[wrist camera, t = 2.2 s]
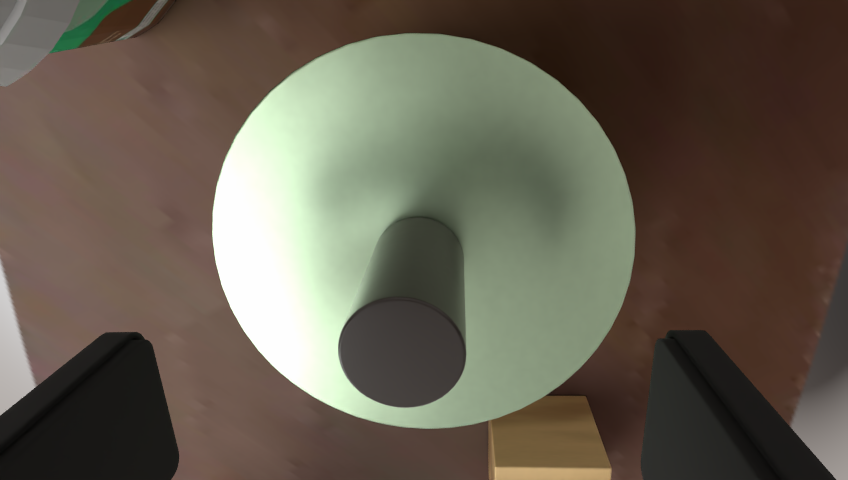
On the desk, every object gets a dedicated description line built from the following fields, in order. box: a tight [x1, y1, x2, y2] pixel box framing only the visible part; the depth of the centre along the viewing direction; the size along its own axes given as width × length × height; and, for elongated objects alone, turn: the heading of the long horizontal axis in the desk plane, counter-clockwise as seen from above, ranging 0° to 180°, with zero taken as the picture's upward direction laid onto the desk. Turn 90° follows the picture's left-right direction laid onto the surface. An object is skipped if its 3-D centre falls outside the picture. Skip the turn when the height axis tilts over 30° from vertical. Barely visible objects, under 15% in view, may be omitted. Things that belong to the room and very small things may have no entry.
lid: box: [212, 33, 636, 429], centre depth 13 cm, size 12×12×6 cm
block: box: [488, 396, 612, 480], centre depth 26 cm, size 5×5×5 cm
